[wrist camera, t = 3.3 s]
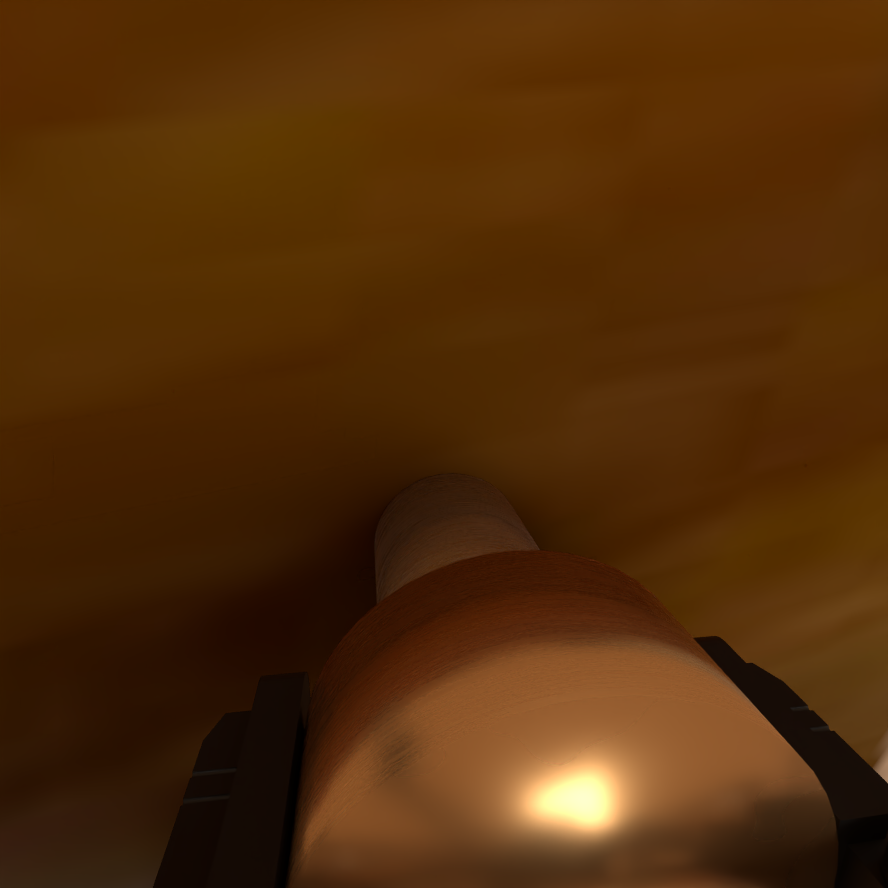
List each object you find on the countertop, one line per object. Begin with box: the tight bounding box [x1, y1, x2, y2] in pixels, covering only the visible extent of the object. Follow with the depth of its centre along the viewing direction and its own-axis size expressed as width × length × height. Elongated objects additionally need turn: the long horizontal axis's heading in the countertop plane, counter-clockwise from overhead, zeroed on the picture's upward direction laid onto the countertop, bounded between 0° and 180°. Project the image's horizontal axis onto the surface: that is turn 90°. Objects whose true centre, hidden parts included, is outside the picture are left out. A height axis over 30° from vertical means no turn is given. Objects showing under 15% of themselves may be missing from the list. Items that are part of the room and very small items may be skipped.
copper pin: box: [285, 474, 839, 888], centre depth 11 cm, size 6×6×10 cm
